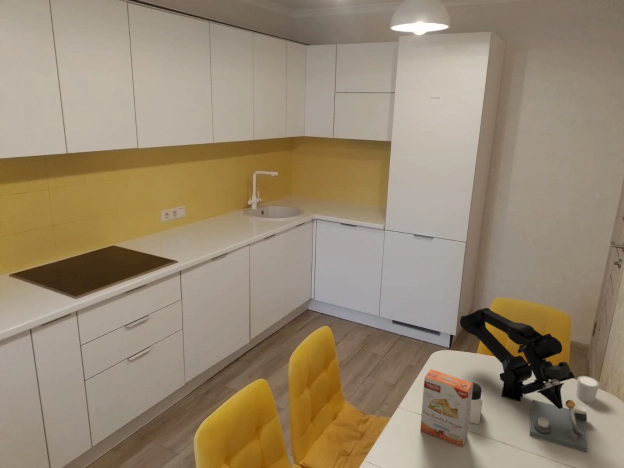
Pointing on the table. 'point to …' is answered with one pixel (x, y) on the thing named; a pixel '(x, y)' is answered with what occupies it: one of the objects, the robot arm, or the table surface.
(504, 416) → the table surface
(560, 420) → the switch panel
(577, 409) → the rocker switch
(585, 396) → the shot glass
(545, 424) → the push button
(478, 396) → the medicine bottle
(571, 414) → the toggle lever
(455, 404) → the cracker box
